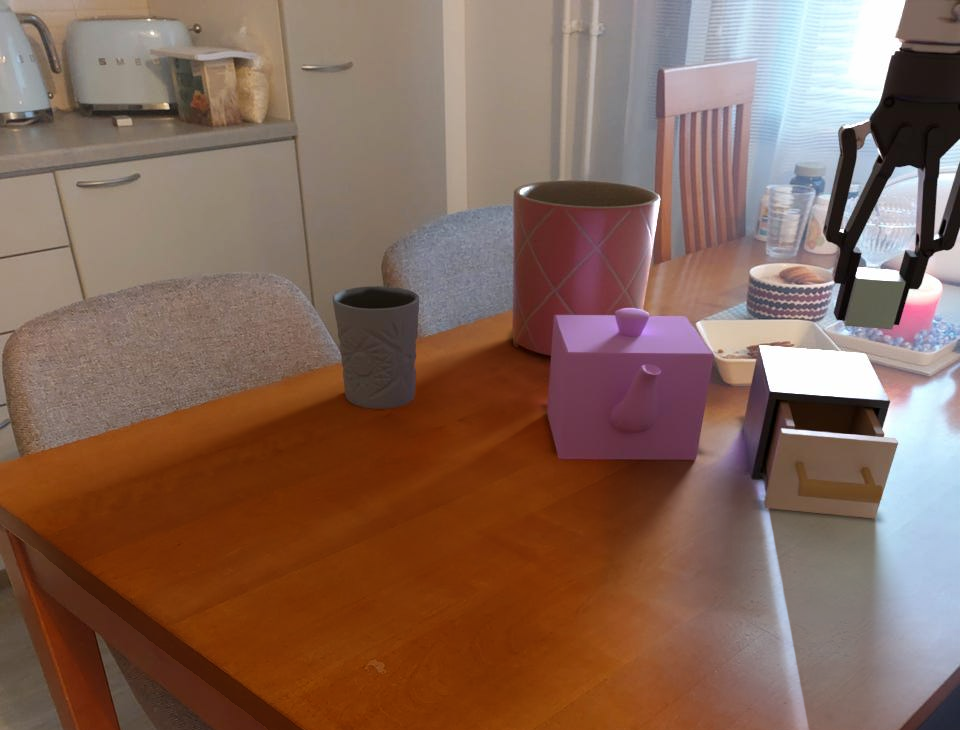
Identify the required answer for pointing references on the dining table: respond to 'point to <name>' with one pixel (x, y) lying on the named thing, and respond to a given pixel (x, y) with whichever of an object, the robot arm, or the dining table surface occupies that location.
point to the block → (874, 298)
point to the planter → (578, 253)
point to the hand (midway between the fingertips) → (865, 318)
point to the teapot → (627, 386)
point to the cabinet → (806, 389)
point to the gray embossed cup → (378, 344)
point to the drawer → (826, 459)
